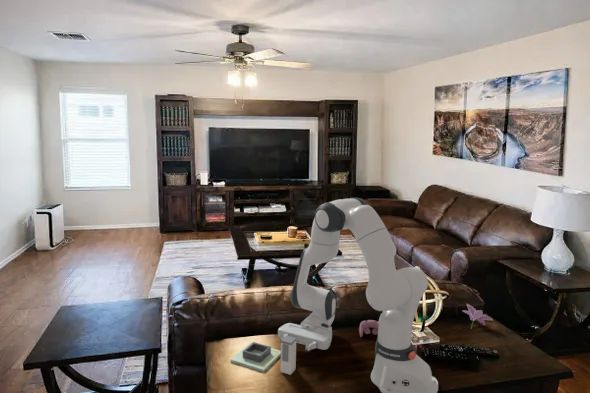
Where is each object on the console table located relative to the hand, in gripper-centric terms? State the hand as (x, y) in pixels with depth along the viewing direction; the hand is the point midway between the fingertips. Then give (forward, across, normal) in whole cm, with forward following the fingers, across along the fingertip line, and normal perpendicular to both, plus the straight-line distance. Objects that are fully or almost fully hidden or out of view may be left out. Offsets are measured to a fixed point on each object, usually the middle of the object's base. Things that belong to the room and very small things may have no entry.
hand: (295, 345), depth 167 cm
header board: (+4, -14, +7) cm, 16 cm away
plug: (+5, 0, +7) cm, 9 cm away
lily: (-64, +56, +7) cm, 85 cm away
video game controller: (-34, +18, +7) cm, 39 cm away
